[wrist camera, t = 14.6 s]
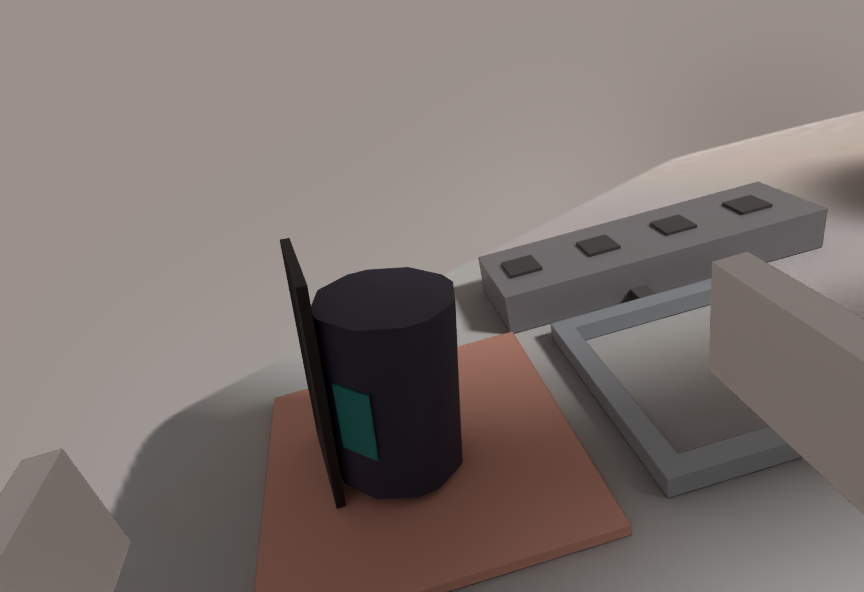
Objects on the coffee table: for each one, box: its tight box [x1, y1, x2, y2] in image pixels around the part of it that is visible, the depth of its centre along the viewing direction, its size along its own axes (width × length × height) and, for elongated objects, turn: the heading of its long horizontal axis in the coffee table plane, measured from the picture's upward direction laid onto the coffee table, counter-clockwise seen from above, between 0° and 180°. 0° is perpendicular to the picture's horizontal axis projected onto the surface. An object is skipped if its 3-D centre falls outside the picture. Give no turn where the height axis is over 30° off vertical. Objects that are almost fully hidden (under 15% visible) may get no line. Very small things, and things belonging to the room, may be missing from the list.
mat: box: [254, 332, 632, 592], centre depth 26 cm, size 14×14×1 cm
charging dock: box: [478, 182, 828, 498], centre depth 30 cm, size 20×20×3 cm
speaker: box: [280, 238, 463, 509], centre depth 23 cm, size 8×6×10 cm
